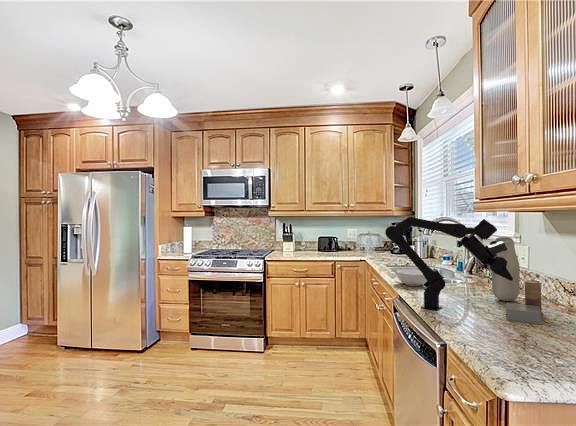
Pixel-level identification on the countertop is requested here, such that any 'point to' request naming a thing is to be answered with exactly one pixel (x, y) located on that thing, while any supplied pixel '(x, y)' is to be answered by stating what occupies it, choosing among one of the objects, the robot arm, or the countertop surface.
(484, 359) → the countertop surface
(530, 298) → the pepper mill
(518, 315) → the slate block
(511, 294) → the grey bottle
